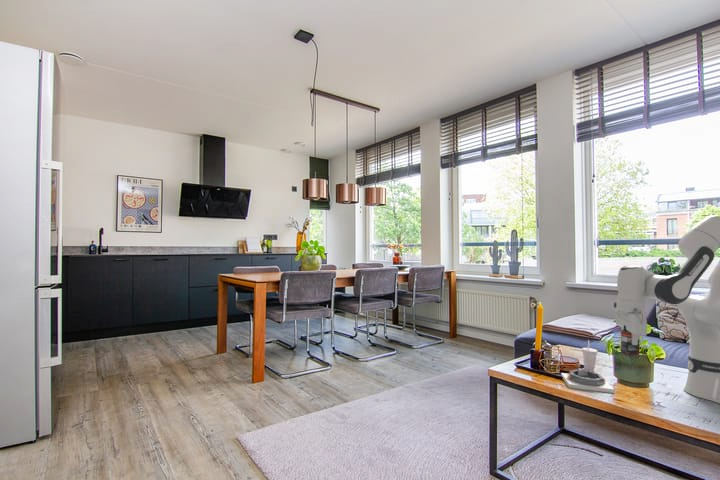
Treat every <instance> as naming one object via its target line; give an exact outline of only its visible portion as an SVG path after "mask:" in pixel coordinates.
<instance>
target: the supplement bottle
mask: <svg viewBox="0 0 720 480" xmlns="http://www.w3.org/2000/svg"><path fill="white" fill-rule="evenodd" d="M631 339H632V333H631V332H629V331H627V330H626V326H625V325H624V329H623V330H622V329H621V330H620V353H621V354H622V355H624V356H629V357H639V356H640V338H639V339H638V345H632V344H631Z"/></svg>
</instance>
